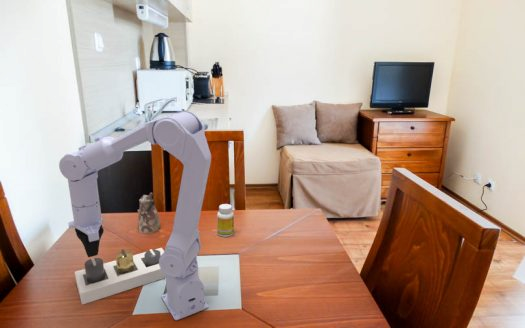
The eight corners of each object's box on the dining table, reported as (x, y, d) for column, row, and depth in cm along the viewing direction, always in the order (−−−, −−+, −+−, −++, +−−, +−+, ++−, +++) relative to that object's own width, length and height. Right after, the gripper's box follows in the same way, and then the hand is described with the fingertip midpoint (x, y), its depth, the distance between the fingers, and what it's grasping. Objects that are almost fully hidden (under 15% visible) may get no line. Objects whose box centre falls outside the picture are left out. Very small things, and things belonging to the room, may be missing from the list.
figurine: (133, 229, 115) (130, 195, 111) (150, 221, 121) (147, 189, 117) (148, 235, 111) (145, 200, 108) (164, 227, 117) (162, 193, 114)
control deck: (174, 274, 92) (174, 264, 91) (82, 304, 80) (80, 293, 79) (162, 256, 100) (161, 247, 99) (76, 281, 88) (74, 271, 87)
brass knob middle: (135, 271, 89) (134, 253, 87) (119, 276, 87) (117, 258, 85) (131, 263, 92) (130, 246, 90) (115, 268, 90) (113, 251, 88)
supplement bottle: (216, 230, 116) (216, 203, 113) (232, 228, 117) (232, 202, 114) (218, 238, 111) (217, 210, 108) (234, 236, 112) (234, 209, 109)
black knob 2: (163, 269, 93) (162, 253, 92) (148, 274, 91) (146, 257, 90) (158, 262, 96) (157, 246, 95) (143, 267, 94) (142, 250, 93)
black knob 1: (106, 280, 85) (104, 262, 84) (88, 285, 83) (85, 267, 81) (103, 271, 88) (100, 254, 87) (85, 276, 86) (83, 259, 85)
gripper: (62, 195, 83) (70, 246, 87) (69, 218, 72) (78, 275, 76) (94, 189, 87) (100, 238, 91) (106, 211, 75) (112, 265, 79)
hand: (92, 255), depth 84 cm, fingers closed
